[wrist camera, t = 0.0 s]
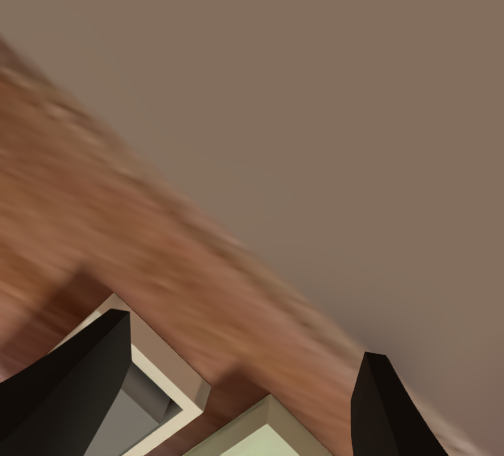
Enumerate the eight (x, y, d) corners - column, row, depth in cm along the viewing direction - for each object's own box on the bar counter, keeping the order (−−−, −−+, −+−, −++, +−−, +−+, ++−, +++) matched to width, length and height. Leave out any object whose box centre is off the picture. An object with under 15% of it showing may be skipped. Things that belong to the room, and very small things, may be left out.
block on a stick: (63, 469, 30) (28, 523, 26) (8, 421, 29) (-36, 470, 26) (180, 377, 27) (159, 424, 23) (121, 321, 26) (90, 360, 22)
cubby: (109, 462, 29) (94, 491, 27) (17, 380, 28) (-6, 404, 26) (211, 387, 26) (203, 412, 24) (114, 292, 25) (96, 310, 23)
